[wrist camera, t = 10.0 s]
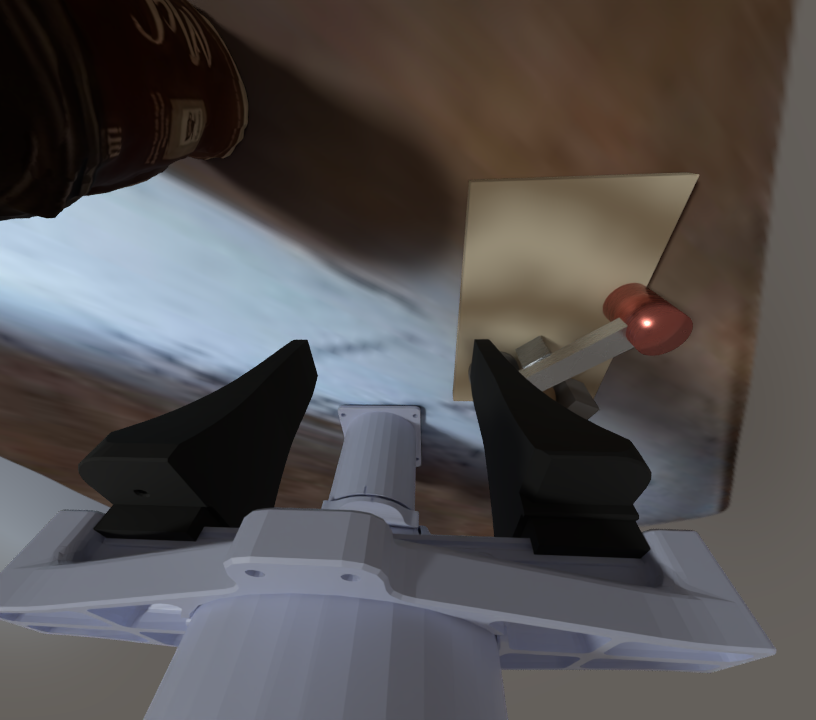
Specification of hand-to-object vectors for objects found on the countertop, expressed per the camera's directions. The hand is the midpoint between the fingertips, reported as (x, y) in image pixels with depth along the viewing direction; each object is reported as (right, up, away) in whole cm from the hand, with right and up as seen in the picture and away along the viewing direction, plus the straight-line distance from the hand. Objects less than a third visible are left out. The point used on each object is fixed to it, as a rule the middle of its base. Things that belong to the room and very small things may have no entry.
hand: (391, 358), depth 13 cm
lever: (+11, +1, +9) cm, 15 cm away
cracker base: (+11, +3, +10) cm, 15 cm away
